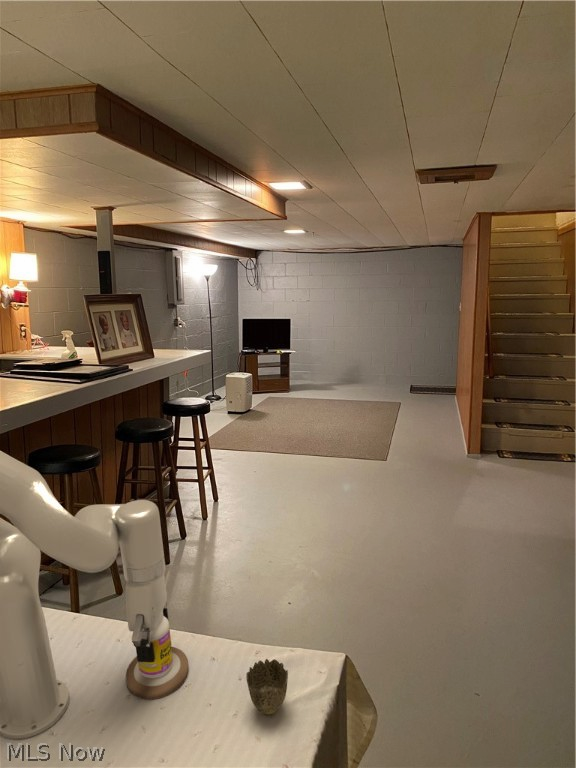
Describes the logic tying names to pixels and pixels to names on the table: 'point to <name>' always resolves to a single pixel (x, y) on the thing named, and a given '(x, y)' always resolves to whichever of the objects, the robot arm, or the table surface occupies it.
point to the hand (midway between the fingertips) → (154, 642)
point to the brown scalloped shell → (267, 686)
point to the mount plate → (160, 685)
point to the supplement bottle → (158, 650)
